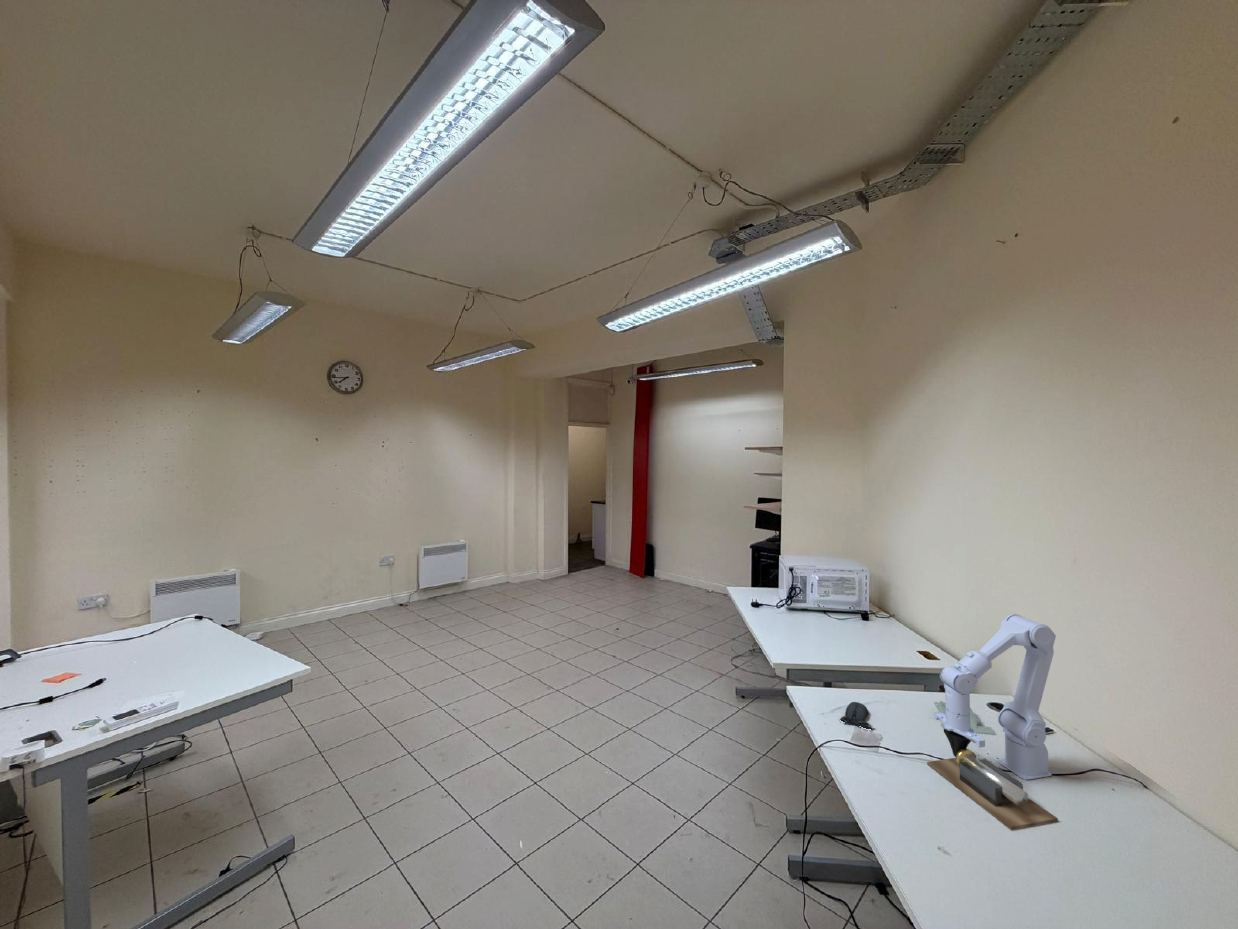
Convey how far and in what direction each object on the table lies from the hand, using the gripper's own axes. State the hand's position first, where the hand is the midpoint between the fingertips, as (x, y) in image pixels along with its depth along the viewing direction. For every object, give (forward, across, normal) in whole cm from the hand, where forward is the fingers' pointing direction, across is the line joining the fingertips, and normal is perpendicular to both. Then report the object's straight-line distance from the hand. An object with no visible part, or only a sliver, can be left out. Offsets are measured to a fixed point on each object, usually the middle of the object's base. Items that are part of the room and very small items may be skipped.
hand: (958, 756), depth 129 cm
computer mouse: (+5, -30, -10) cm, 32 cm away
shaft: (+2, +9, 0) cm, 10 cm away
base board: (+4, +9, 0) cm, 10 cm away
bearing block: (+4, +9, 0) cm, 10 cm away
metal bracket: (+5, -20, +22) cm, 30 cm away
